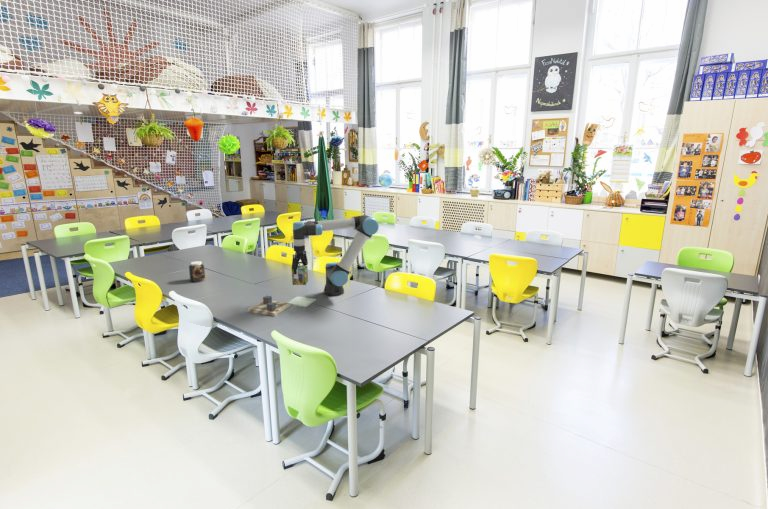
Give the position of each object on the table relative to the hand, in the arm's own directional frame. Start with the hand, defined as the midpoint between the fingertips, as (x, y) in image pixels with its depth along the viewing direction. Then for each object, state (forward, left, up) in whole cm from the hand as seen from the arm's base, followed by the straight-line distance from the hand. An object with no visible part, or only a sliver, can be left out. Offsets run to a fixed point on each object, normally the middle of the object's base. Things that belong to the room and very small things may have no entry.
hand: (300, 276), depth 280 cm
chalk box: (0, 0, -5) cm, 5 cm away
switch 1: (+18, +14, -16) cm, 28 cm away
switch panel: (+13, +18, -19) cm, 29 cm away
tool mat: (0, 0, -19) cm, 19 cm away
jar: (+105, -16, -19) cm, 108 cm away
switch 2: (+8, +24, -16) cm, 30 cm away
